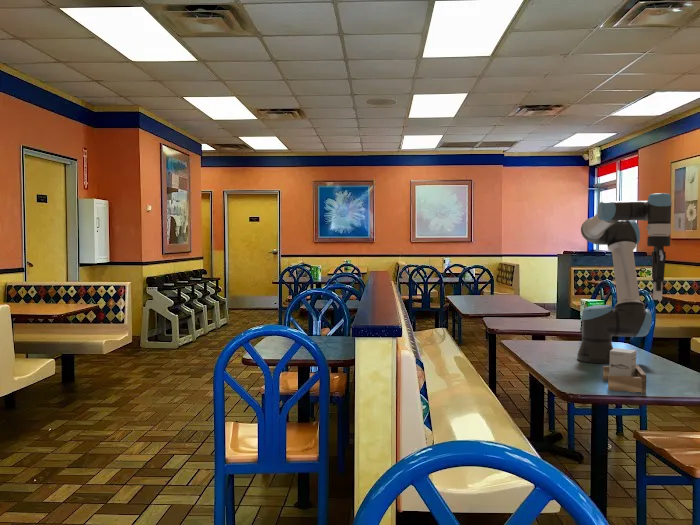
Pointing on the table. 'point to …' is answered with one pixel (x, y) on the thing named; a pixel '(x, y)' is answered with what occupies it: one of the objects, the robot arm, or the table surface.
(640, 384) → the brown wooden frame
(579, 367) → the table surface
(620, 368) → the supplement box
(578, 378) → the table surface
